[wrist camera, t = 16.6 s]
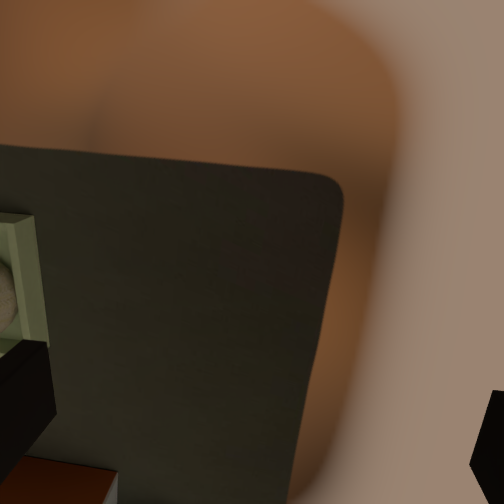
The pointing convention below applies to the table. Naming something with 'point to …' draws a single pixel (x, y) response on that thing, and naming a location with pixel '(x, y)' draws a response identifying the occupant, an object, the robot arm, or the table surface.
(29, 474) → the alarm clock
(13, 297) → the sea urchin shell
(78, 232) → the table surface
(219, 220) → the table surface
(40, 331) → the tray
